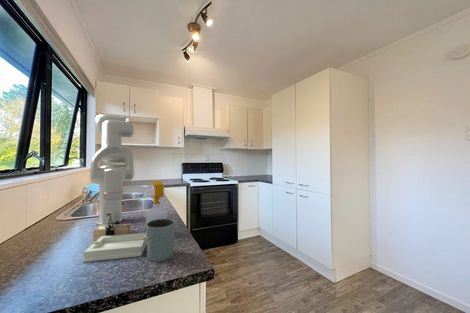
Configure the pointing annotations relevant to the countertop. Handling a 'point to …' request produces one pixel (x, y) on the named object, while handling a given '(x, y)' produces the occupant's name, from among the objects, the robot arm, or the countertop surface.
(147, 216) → the soap bottle
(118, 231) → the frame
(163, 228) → the teal embossed pot
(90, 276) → the countertop surface
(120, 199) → the robot arm
